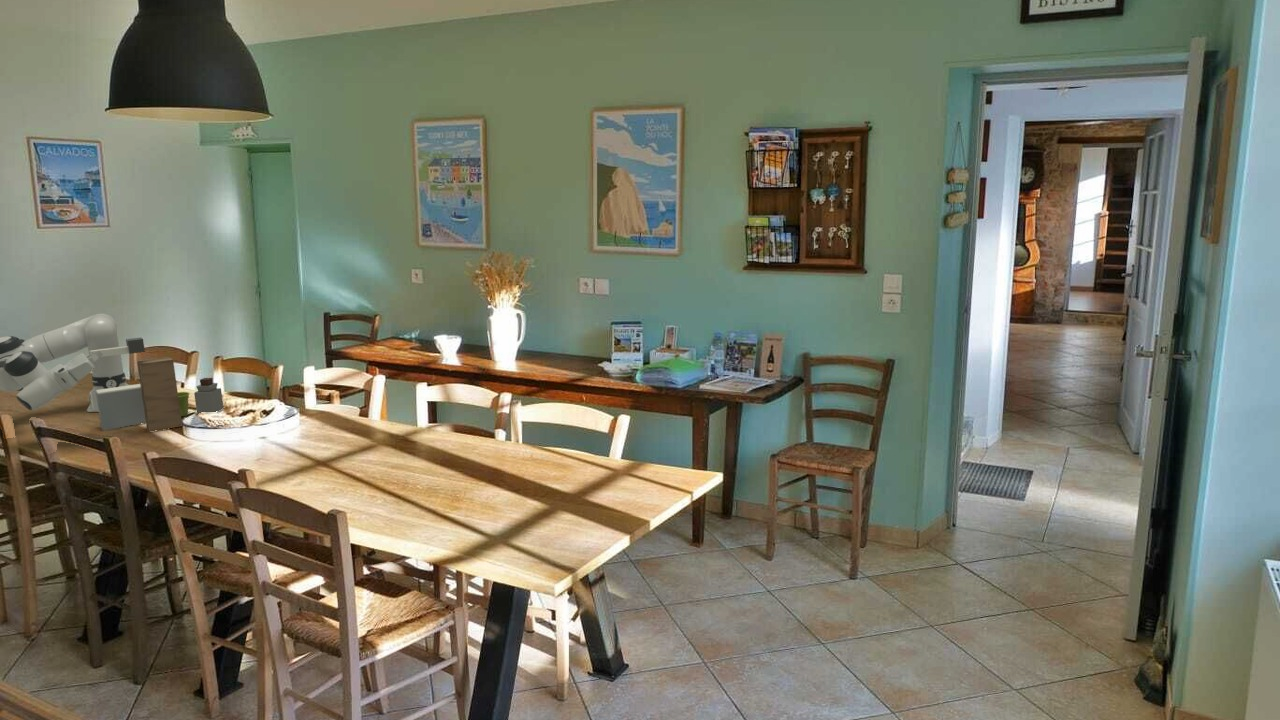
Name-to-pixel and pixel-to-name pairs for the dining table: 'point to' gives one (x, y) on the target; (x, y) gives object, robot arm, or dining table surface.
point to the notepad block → (120, 406)
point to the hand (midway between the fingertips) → (100, 351)
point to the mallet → (123, 348)
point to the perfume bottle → (208, 396)
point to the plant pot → (183, 402)
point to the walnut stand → (159, 393)
